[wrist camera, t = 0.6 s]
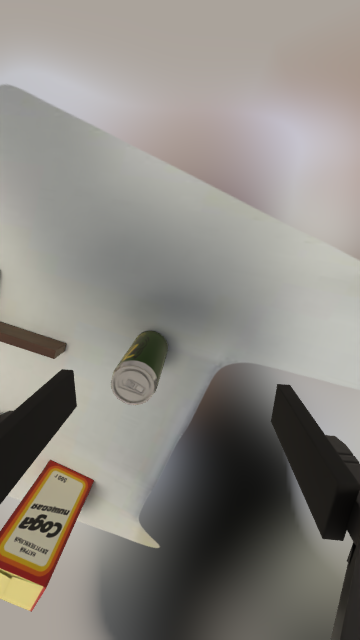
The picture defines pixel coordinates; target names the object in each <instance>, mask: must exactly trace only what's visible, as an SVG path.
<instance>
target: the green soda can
mask: <svg viewBox="0 0 360 640" xmlns="http://www.w3.org/2000/svg"><path fill="white" fill-rule="evenodd" d="M167 351H168V345H167V342H166V340H165V338H164V337H163V336H162V335H161V334H159V333H157V332H154V331H147V332H143V333H141V334H140V335H139V336H138V337H137V338H136V340H135V341H134V342H133V344H132V345H131V347H130V348H129V350H128V351H127V353H126V354H125V355H124V357H123V358H122V360H121V361H120V363H119V364H118V366H117V367H116V368H115V370H114V372H113V375H112V380H111V388H112V391H113V393H114V395H115V396H116V397H117V398H118V399H119V400H121V401H122V402H124V403H127V404H129V405H139V404H143V403H145V402H146V401H148V400H149V399H150V398H151V397H152V395H153V394H154V393H155V391H156V388H157V386H158V382H159V379H160V375H161V372H162V368H163V365H164V362H165V358H166V355H167Z"/></svg>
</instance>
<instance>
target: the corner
mask: <svg viewBox="0 0 360 640" xmlns="http://www.w3.org/2000/svg"><path fill="white" fill-rule="evenodd" d="M0 341H1V342H4V343H7V344H10V345H13V346H16V347H19V348H22V349H25V350H28V351H32V352H35V353H38V354H41V355H44V356H47V357H50V358H53V359H55V358H56V357H57V356H59V355H60V354H61V353H63V352H64V351H65V346H66V343H63V342H60V341H57V340H54V339H51V338H48V337H45V336H42V335H39V334H36V333H33V332H30V331H27V330H24V329H21V328H18V327H15V326H12V325H9V324H6V323H3V322H0Z"/></svg>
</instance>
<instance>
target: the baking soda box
mask: <svg viewBox="0 0 360 640" xmlns="http://www.w3.org/2000/svg"><path fill="white" fill-rule="evenodd" d="M93 482H94V480H92V479H90V478H88V477H86V476H84V475H82V474H79V473H77V472H75V471H73V470H71V469H69V468H67V467H64V466H62V465H60V464H58V463H56V462H54V461H52V460H50V461H49V462H48V464H47V465H46V467H45V468H44V470H43V471H42V472H41V474H40V475H39V477H38V478H37V480H36V481H35V482H34V484H33V485H32V487H31V488H30V490H29V491H28V492H27V494H26V495H25V497H24V498H23V500H22V501H21V503H20V504H19V505H18V507H17V508H16V510H15V511H14V513H13V514H12V515H11V517H10V518H9V520H8V521H7V523H6V524H5V525H4V527H3V528H2V530H1V531H0V599H2V600H5V601H7V602H9V603H12V604H14V605H17V606H19V607H22V608H24V609H26V610H29V611H32V610H33V609H34V607H35V605H36V603H37V602H38V600H39V599H40V597H41V595H42V594H43V592H44V591H45V589H46V587H47V585H48V583H49V580H50V578H51V576H52V574H53V572H54V569H55V567H56V565H57V563H58V560H59V558H60V556H61V554H62V551H63V549H64V547H65V545H66V542H67V540H68V538H69V536H70V533H71V531H72V529H73V527H74V524H75V522H76V520H77V518H78V516H79V513H80V511H81V509H82V507H83V504H84V502H85V500H86V498H87V495H88V493H89V491H90V489H91V486H92V484H93Z"/></svg>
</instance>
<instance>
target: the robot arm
mask: <svg viewBox="0 0 360 640" xmlns="http://www.w3.org/2000/svg"><path fill="white" fill-rule="evenodd" d="M76 407H77V404H76V394H75V383H74V373H73V370H63V369H62V370H61V371H60V372H58V373H57V374H56V375H55V376H54V377H53V378H51V379H50V380H49V381H48V382H47V383H46V384H44V385H43V386H42V387H41V388H40V389H39V390H38V391H36V392H35V393H34V394H33V395H32V396H31V397H29V398H28V399H27V400H26V401H25V402H24V403H23V404H21V405H20V406H19V407H18V408H17V409H16V410H14V411H8V412H6V413H5V414H3V415H1V416H0V504H1V502H2V501H3V500H4V499H5V497H6V496H7V495H8V494H9V492H10V491H11V490H12V489H13V487H14V486H15V485H16V483H17V482H18V481H19V480H20V478H21V477H22V476H23V475H24V473H25V472H26V471H27V469H28V468H29V467H30V466H31V464H32V463H33V462H34V460H35V459H36V458H37V457H38V455H39V454H40V453H41V451H42V450H43V449H44V448H45V446H46V445H47V444H48V443H49V441H50V440H51V439H52V437H53V436H54V435H55V434H56V432H57V431H58V430H59V428H60V427H61V426H62V425H63V423H64V422H65V421H66V419H67V418H68V417H69V416H70V414H71V413H72V412H73V410H74V409H75V408H76ZM271 422H272V425H273V427H274V429H275V431H276V434H277V436H278V438H279V441H280V443H281V445H282V447H283V450H284V452H285V454H286V456H287V459H288V461H289V463H290V466H291V468H292V470H293V472H294V475H295V477H296V479H297V481H298V484H299V486H300V488H301V490H302V493H303V495H304V497H305V500H306V502H307V504H308V506H309V509H310V511H311V513H312V516H313V518H314V520H315V522H316V525H317V527H318V529H319V531H320V534H321V536H322V538H323V539H331V540H340V541H343V540H344V537H345V534H346V531H348V532H349V534H350V536H351V538H352V540H353V545H352V548H351V551H350V554H349V556H348V559H347V562H348V565H347V570H346V574H345V579H344V583H343V588H342V592H341V596H340V601H339V605H338V610H337V615H336V619H335V623H334V627H333V632H332V636H331V640H360V464H359V461H358V460H357V459H356V457H355V456H353V454H352V452H351V451H350V450H349V448H348V447H347V446H346V445H345V444H344V443H343V442H342V441H340V440H339V439H338V438H337V437H335V436H328V435H325V434H324V433H323V431H322V430H321V429H320V427H319V426H318V424H317V423H316V421H315V420H314V419H313V417H312V416H311V414H310V413H309V412H308V410H307V409H306V407H305V406H304V404H303V403H302V401H301V400H300V399H299V397H298V396H297V394H296V393H295V392H294V390H293V389H292V387H291V386H290V385H281V384H277V390H276V396H275V401H274V407H273V413H272V419H271Z"/></svg>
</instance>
